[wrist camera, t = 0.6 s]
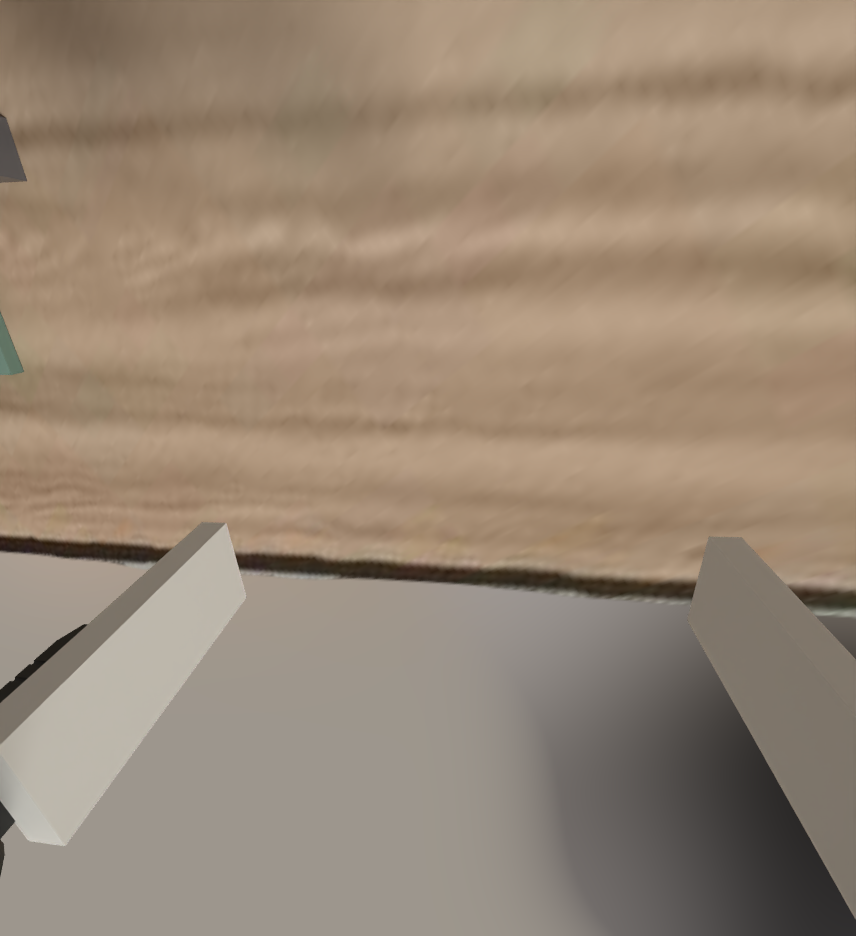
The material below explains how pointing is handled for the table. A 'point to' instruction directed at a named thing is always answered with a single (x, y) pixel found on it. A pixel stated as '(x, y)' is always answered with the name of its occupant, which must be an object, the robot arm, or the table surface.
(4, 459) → the table surface
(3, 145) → the plug
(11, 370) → the board
